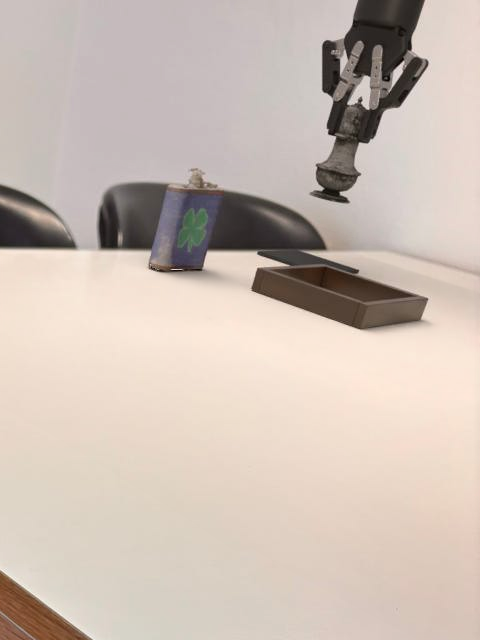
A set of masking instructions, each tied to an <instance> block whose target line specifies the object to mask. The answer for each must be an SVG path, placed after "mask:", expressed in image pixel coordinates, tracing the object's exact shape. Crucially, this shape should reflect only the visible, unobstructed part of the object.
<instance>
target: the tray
mask: <svg viewBox="0 0 480 640" xmlns="http://www.w3.org/2000/svg"><path fill="white" fill-rule="evenodd" d="M251 289H252V290H254V291H253V292H255V291H257V292H256V293H258V292H260V293H259V294H261V293H262V294H261V295H263V294H265V295H264V296H266V295H267V297H269V298H271V299H275V300H277V301H279V302H283V303H286V304H288V305H292V306H294V307H297V308H299V309H303V310H305V311H309V312H310V313H314V314H317V315H320V316H322V317H325V318H329V319H330V320H334V321H337V322H340V323H342V324H345V325H347V326H350V327H353V328H357V329H360V330H362V329H367V328H375V327H381V326H382V327H383V326H387V325H394V324H395V325H396V324H402V323H408V322H416V321H420V320H422V317H423V315H424V313H425V309H426V308H427V307H426V306H427V304H428V302H429V297H426V296H423V295H420V294H417V293H414V292H411V291H408V290H405V289H402V288H399V287H396V286H393V285H391V284H390V285H389V284H387V283H383V282H380V281H377V280H374V279H371V278H368V277H365V276H362V275H359V274H357V273H350V272H347V271H344V270H341V269H338V268H335V267H331V266H328V265H325V264H313V265H296V266H291V265H281V266H263V267H261V266H260V267H257V268H256V271H255V275H254V277H253V281H252V284H251V288H250V290H251ZM252 290H251V291H252Z"/></svg>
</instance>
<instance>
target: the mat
mask: <svg viewBox="0 0 480 640" xmlns="http://www.w3.org/2000/svg"><path fill="white" fill-rule="evenodd" d="M256 254H257V255H258V256H262V257H265V258H268V259H270V260H274V261H277V262H280V263H283V264H286V265H287V266H296V265H313V264H325V265H328V266H331V267H335V268H338V269H341V270H344V271H347V272H350V273H353V274H359V272H360V269H358V268H354V267H351V266H348V265H346V264H342V263H340V262H337V261H333V260H329V259H327V258H324V257H320V256H317V255H315V254H311V253H309V252H305V251H302V250H299V249H277V250H276V249H275V250H258V251H257V253H256Z"/></svg>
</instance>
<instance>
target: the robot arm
mask: <svg viewBox="0 0 480 640" xmlns="http://www.w3.org/2000/svg"><path fill="white" fill-rule="evenodd" d="M425 2H426V0H357V2H356V6H355V9H354V12H353V16H352V24H351V27H350V28H349V30H348V31H347V32H346V34H345V35H344V37H342V38H338V39H334V40H331V39H325V40H324V41H323V43H321V44H322V45H321V91H322V93H324V94H327V95H328V96H329V97H330V98H331V99H332V105H331V108H330V112H329V115H328V119H327V122H326V130H327V135H328V136H331V137H336V135H335V133H337V132H339V129H340V125H341V122H342V119H343V116H344V112H345V110H346V108H347V107H348V106H350V105H351V104H348V103H349V102H350V101H351V99H352V98H353V97H352V96H353V95H354V93H355V91H356V89H357V87H358V86H359V85H360V84H361V83H362V81H363V80H364V77H368V78H369V88H370V92H369V100H368V101H369V102H368V107H369V109H367V108H366V112H365V115H364V118H363V121H362V125H361V128H360V131H359V134H358V137H357V142H359V144H367V145H368V144H370V142H371V140H374V138H375V137H376V136H377V133H378V129H379V126H380V123H381V120H382V117H383V114H384V113H385V112H386V111H387V110H391V109H392V110H393V109H400V107H402V105H403V104H404V102H405V100H406V99H407V98H408V96H409V95H410V93H411V92H412V90H413V89H414V87H415V86H416V85H417V83H418V82H419V80H420V79H421V77H422V76H423V74H424V73H425V71H426V70H427V68H428V67H429V60H428V59H427V58H423V57H421V56H420V55H418V54H416V52H414V51H413V44H412V43H413V41H412V40H413V39H412V38H413V36H414V33H415V31H416V29H417V26H418V23H419V20H420V17H421V14H422V11H423V8H424V5H425ZM344 53H345V55H346V59H347V62H346V64H345V65H344V67H343V69H342V72H341V59H342V58H343V57H344ZM403 62H404V63H403ZM402 63H403V65H402ZM400 65H402V73H401V74H400V75H399V77H398V78H397V80H396V81H395V83H394V84H393V79H394V72H395V70H396V69H397V68H398V67H399V66H400Z"/></svg>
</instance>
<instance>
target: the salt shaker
mask: <svg viewBox="0 0 480 640" xmlns="http://www.w3.org/2000/svg"><path fill="white" fill-rule="evenodd" d="M363 101H364V99H363V96H361V95H360V97H358V98H357V102H355V103H354V104H353V103H352V104H349V105H350V106H348V107H347V108H346V110H345V112H344V116H343V119H342V122H341V125H340V129H339V132H337V133H335V135H336V136H335V140H334V143H333V146H332V149H331V152H330V154H329V155H328V157H327V159H325V160H324V161H323V162H320V163H315V167H316V170H315V180H316V182H317V184H318V185H319V186H320V187H321V188H323V189H322V190H320V189H319V190H317V189H316V190H315V189H314V190H313V191H310V192H308V195H309V196H312V197H315V198H318V199H321V200H324V201H327V202H328V201H329V202H334V203H339V204H347V205H348V204H350V203H351V201H350V200H349V199H348V197H347V196H344V195H342V194H341V193H342V192H347V191H349V190H350V189H352V188H353V187H354V185H355V184H357V180H358V178H359V177H361V176H362V172H359V171H358V170H357V168H356V167H355V159H356V155H357V151H358V148H359V145H360V142H357V137H358V134H359V131H360V128H361V125H362V121H363V118H364V115H365V112H366V109H367V108H366V107H365V106H364V105H363V104H362V102H363Z"/></svg>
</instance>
